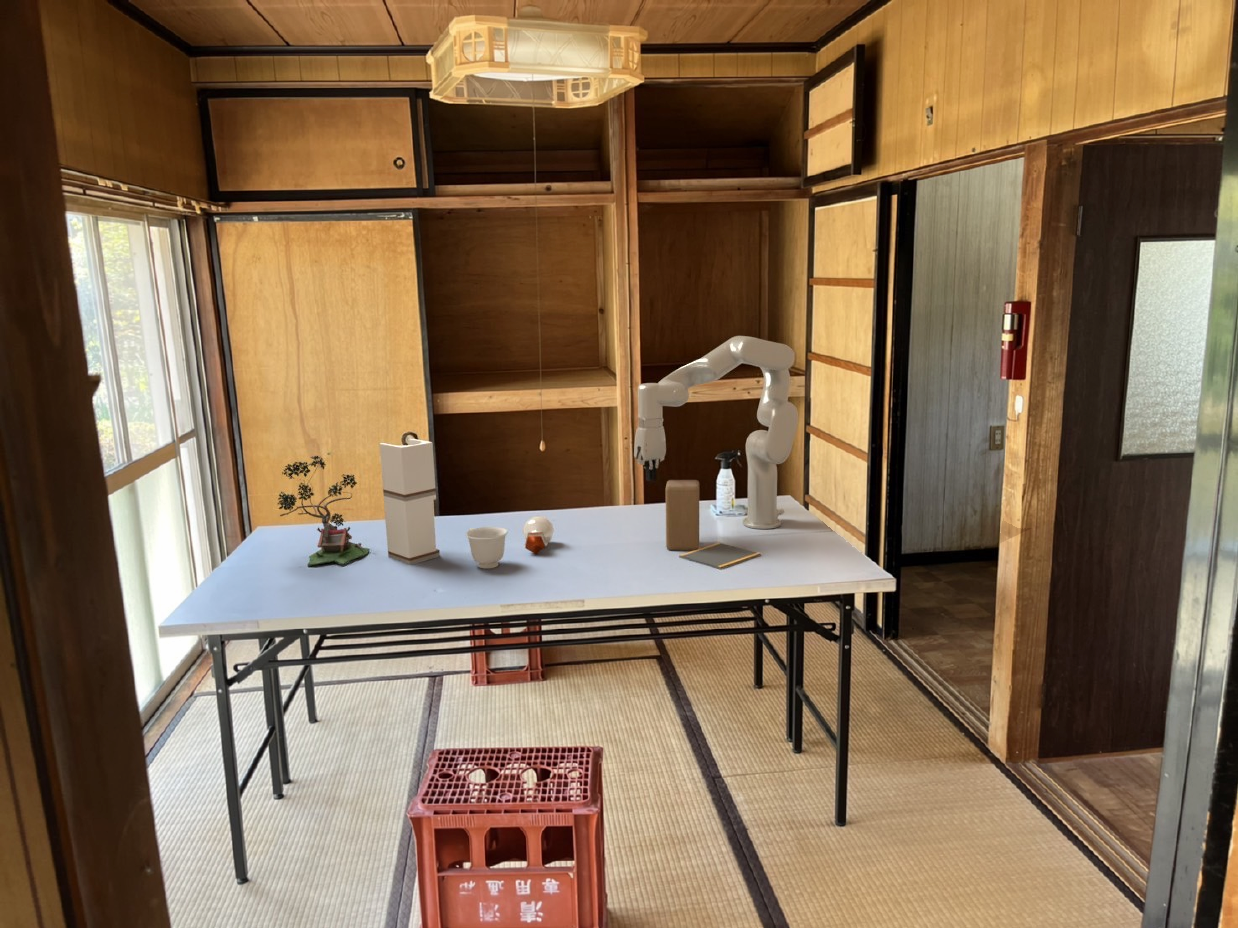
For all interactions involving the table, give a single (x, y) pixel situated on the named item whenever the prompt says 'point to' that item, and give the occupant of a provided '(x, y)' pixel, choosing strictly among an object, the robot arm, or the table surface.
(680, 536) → the block
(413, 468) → the white banded pillar
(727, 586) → the table surface
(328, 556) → the bonsai tree
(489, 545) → the teacup
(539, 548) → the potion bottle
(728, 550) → the mat
